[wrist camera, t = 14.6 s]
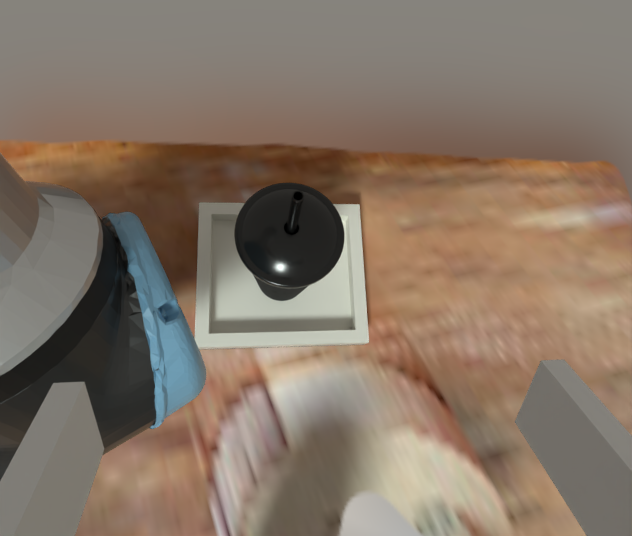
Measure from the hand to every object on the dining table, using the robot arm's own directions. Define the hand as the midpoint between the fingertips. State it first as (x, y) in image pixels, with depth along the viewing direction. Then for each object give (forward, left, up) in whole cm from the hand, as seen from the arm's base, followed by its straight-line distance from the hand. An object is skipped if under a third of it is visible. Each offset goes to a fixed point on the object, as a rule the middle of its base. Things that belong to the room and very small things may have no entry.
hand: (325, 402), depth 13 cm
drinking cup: (0, +11, -29) cm, 31 cm away
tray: (0, +11, -29) cm, 31 cm away
